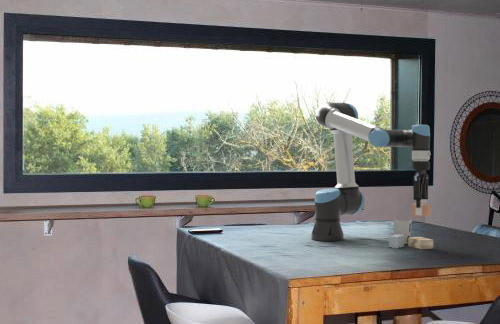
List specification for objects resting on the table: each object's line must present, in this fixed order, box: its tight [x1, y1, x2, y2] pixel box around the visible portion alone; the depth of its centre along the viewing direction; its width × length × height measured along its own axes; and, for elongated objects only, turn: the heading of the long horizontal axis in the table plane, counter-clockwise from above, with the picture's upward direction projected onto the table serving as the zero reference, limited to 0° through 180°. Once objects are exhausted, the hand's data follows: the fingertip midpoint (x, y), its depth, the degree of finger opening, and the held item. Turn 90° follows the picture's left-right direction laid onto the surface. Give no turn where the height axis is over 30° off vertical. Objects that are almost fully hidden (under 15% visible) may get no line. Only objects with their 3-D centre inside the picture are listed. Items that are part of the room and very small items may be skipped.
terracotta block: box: [411, 203, 432, 218], centre depth 290 cm, size 7×4×5 cm, turn 56°
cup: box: [392, 219, 412, 245], centre depth 303 cm, size 8×8×10 cm
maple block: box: [407, 236, 434, 250], centre depth 291 cm, size 10×6×4 cm, turn 18°
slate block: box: [388, 234, 405, 249], centre depth 292 cm, size 7×4×5 cm, turn 146°
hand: (420, 214), depth 290 cm, fingers closed on terracotta block, 4 cm apart
